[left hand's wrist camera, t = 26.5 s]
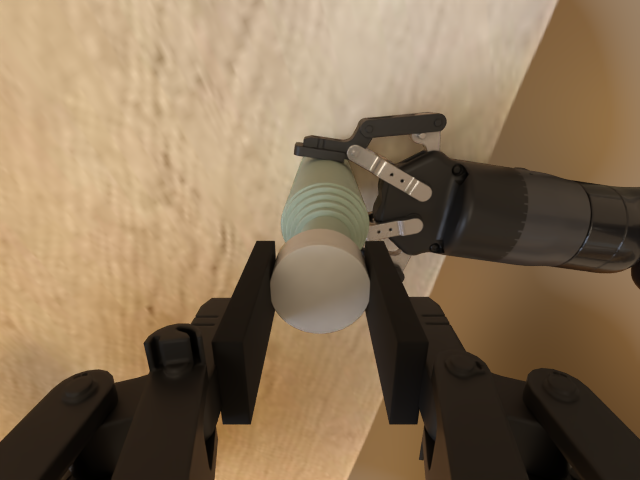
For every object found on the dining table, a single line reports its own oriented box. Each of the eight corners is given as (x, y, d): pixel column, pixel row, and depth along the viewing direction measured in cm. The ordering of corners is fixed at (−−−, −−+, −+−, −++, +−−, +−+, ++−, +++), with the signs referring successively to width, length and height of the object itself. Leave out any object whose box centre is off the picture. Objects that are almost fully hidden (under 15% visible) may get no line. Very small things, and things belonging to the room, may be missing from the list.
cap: (381, 248, 14) (388, 267, 13) (342, 320, 16) (345, 346, 14) (294, 214, 14) (291, 229, 12) (262, 291, 15) (255, 314, 14)
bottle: (317, 206, 35) (309, 328, 16) (288, 164, 33) (245, 247, 15) (360, 180, 34) (403, 278, 15) (332, 135, 32) (344, 185, 14)
